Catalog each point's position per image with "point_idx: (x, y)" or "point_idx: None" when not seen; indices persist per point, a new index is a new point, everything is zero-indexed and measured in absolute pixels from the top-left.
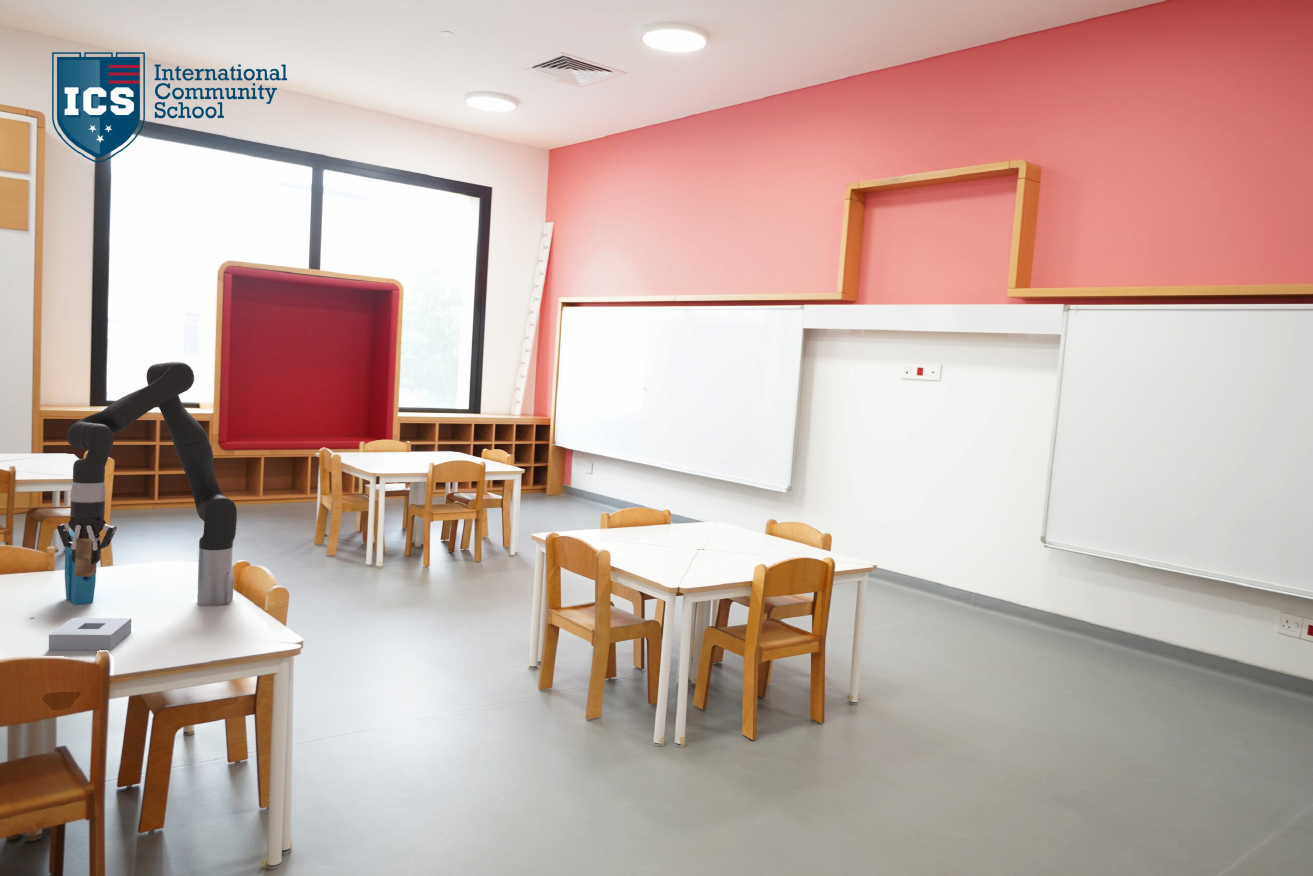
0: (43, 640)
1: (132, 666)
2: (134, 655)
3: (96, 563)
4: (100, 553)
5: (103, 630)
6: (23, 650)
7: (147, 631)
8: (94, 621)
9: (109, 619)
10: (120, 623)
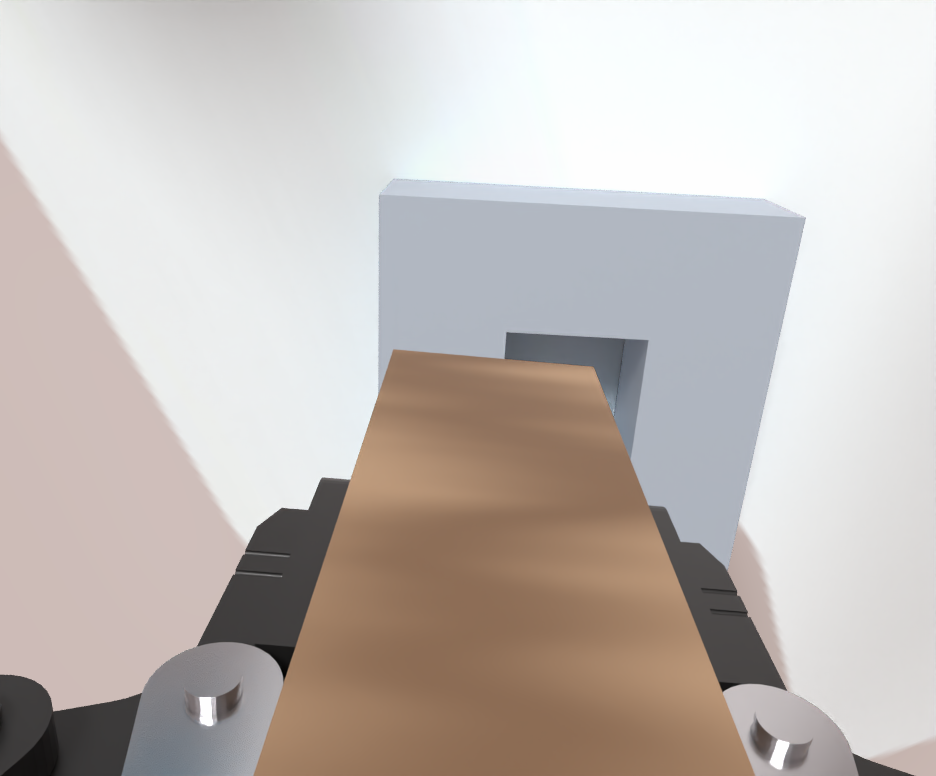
0: (287, 333)
1: (839, 723)
2: (832, 595)
3: (619, 434)
4: (764, 648)
5: (667, 493)
6: (268, 493)
7: (869, 168)
8: (558, 293)
9: (650, 245)
10: (746, 349)
